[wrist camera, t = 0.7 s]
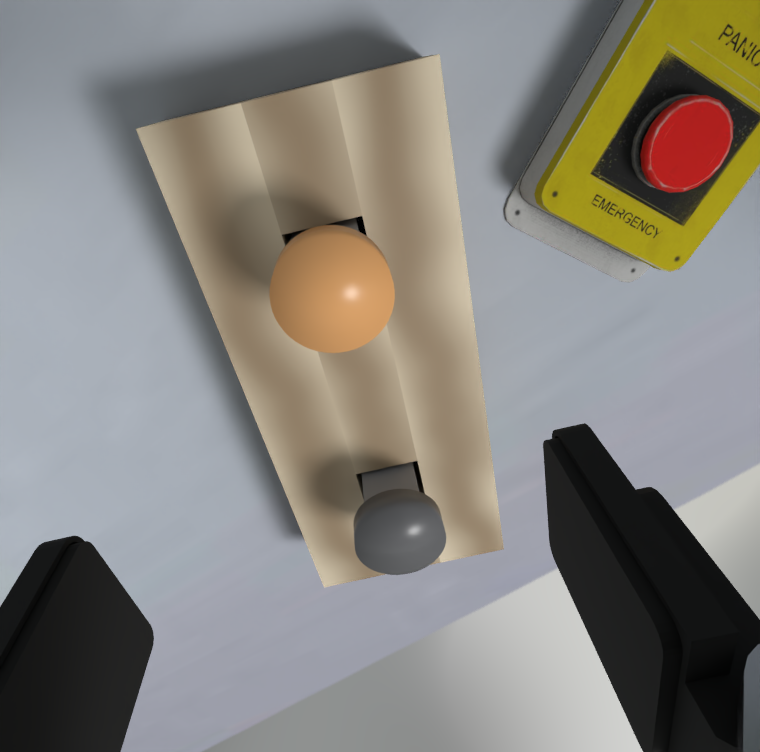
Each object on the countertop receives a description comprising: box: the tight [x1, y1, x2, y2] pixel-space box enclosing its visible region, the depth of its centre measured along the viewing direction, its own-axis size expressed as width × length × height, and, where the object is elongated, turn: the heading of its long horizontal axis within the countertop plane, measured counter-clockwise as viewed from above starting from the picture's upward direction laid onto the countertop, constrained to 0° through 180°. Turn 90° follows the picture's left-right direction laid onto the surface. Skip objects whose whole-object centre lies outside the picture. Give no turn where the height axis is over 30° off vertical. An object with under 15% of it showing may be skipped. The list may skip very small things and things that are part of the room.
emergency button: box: [505, 0, 760, 282], centre depth 24 cm, size 9×4×15 cm
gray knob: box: [353, 462, 446, 575], centre depth 30 cm, size 5×5×6 cm
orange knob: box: [269, 217, 395, 353], centre depth 23 cm, size 5×5×6 cm
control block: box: [136, 54, 504, 587], centre depth 29 cm, size 12×28×4 cm, turn 12°
